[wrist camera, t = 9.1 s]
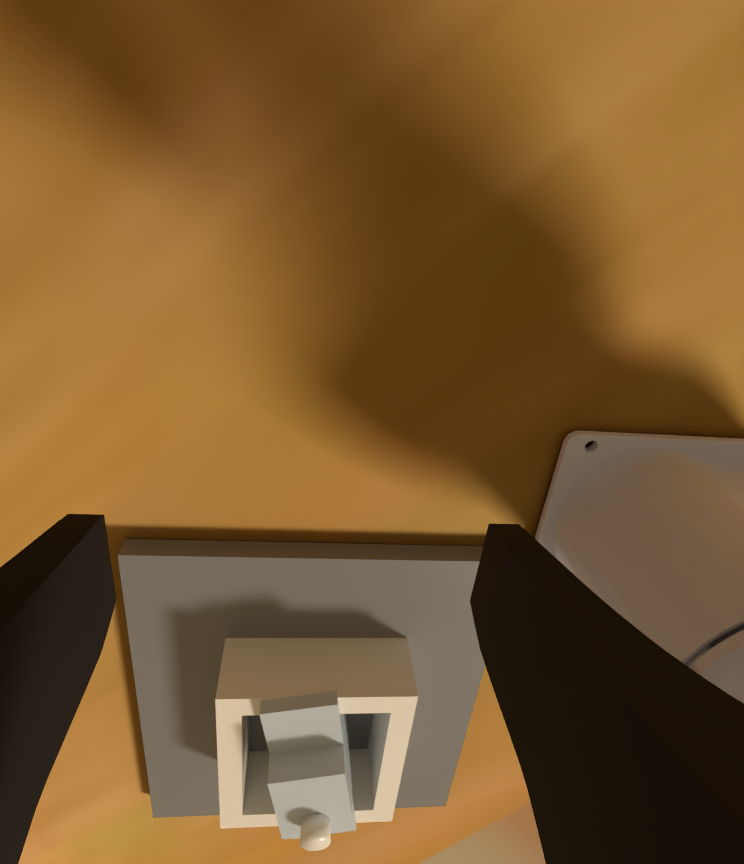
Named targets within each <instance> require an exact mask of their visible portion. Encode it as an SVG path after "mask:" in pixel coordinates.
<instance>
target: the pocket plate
mask: <svg viewBox="0 0 744 864" xmlns="http://www.w3.org/2000/svg"><path fill="white" fill-rule="evenodd" d="M482 550H483V546H449V545H402V544H355V543H307V542H260V541H213V540H165V539H125V540H124V542H123V544H122V546H121V548H120V551H119V553H118V563H119V570H120V577H121V585H122V592H123V599H124V607H125V614H126V621H127V629H128V636H129V643H130V651H131V658H132V665H133V673H134V680H135V687H136V695H137V702H138V709H139V717H140V724H141V731H142V739H143V746H144V753H145V761H146V768H147V775H148V783H149V790H150V797H151V805H152V812H153V818H155V817H180V816H205V815H220V828H243V827H267V826H279V825H278V822H277V818H276V814H275V810H274V807H273V803H272V799H271V796H270V792H269V788H268V785H267V782H268V768H269V750H268V746H267V742H266V739H265V735H264V731H263V727H262V723H261V719H260V715H259V713H260V701H261V700H269V699H277V698H285V697H293V696H301V695H309V694H316V693H324V692H332V691H337V694H338V701H339V708H340V714H346V718H347V725H348V732H349V746H350V763H351V779H352V796H353V802H354V809H355V816H356V823H360V822H384V821H392V818H393V813H394V809H395V808H406V807H431V806H445V805H446V801H447V798H448V794H449V791H450V787H451V784H452V780H453V777H454V773H455V770H456V766H457V763H458V759H459V755H460V752H461V748H462V745H463V741H464V738H465V734H466V731H467V727H468V724H469V720H470V717H471V713H472V710H473V706H474V703H475V699H476V695H477V692H478V688H479V685H480V681H481V678H482V674H483V671H484V667H485V663H484V660H483V657H482V654H481V651H480V647H479V642H478V638H477V634H476V629H475V624H474V619H473V614H472V609H471V604H470V598H471V594H472V590H473V586H474V582H475V578H476V574H477V570H478V566H479V562H480V558H481V554H482Z"/></svg>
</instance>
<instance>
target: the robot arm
mask: <svg viewBox="0 0 744 864" xmlns="http://www.w3.org/2000/svg"><path fill="white" fill-rule="evenodd" d="M589 441H593V443H592V445H591V446H589V447H586V448H585V445H586V444H587V443H588V442H589ZM115 602H116V594H115V587H114V581H113V574H112V567H111V560H110V553H109V546H108V539H107V533H106V526H105V519H104V515H89V514H68V515H66V516H65V517H64V518H62V519H61V520H60V521H58V522H57V523H56V524H54V525H53V526H52V527H51V528H49V529H48V530H47V531H46V532H44V533H43V534H42V535H41V536H39V537H38V538H37V539H36V540H34V541H33V542H32V543H31V544H29V545H28V546H27V547H26V548H24V549H23V550H22V551H21V552H19V553H18V554H17V555H16V556H14V557H13V558H12V559H11V560H9V561H8V562H7V563H5V564H4V565H3V566H2V567H0V864H18V862H19V859H20V856H21V853H22V850H23V847H24V844H25V841H26V838H27V835H28V831H29V828H30V825H31V822H32V819H33V816H34V813H35V810H36V807H37V804H38V802H39V799H40V797H41V794H42V791H43V789H44V786H45V784H46V781H47V778H48V776H49V774H50V771H51V769H52V767H53V764H54V762H55V760H56V757H57V755H58V753H59V750H60V748H61V746H62V743H63V741H64V739H65V736H66V734H67V732H68V729H69V727H70V725H71V722H72V720H73V718H74V716H75V713H76V711H77V709H78V706H79V704H80V702H81V699H82V697H83V695H84V692H85V690H86V687H87V685H88V683H89V680H90V678H91V676H92V673H93V671H94V669H95V666H96V664H97V661H98V659H99V656H100V654H101V651H102V648H103V645H104V641H105V638H106V635H107V631H108V628H109V624H110V621H111V617H112V613H113V610H114V606H115ZM470 604H471V609H472V614H473V619H474V624H475V629H476V634H477V638H478V642H479V647H480V651H481V654H482V657H483V660H484V663H485V665H486V668H487V671H488V674H489V677H490V680H491V683H492V686H493V689H494V692H495V694H496V697H497V700H498V703H499V706H500V709H501V711H502V714H503V717H504V720H505V723H506V726H507V728H508V731H509V734H510V737H511V740H512V743H513V745H514V748H515V751H516V754H517V757H518V760H519V763H520V766H521V769H522V772H523V776H524V779H525V782H526V785H527V789H528V793H529V797H530V801H531V805H532V808H533V813H534V817H535V820H536V825H537V828H538V833H539V837H540V841H541V845H542V849H543V853H544V858H545V862H546V864H744V439H740V438H720V437H700V436H679V435H659V434H639V433H619V432H599V431H573V432H571V433H569V434H568V435H567V436H566V437H565V439H564V441H563V444H562V448H561V451H560V455H559V458H558V461H557V465H556V468H555V471H554V475H553V478H552V481H551V485H550V488H549V492H548V495H547V498H546V502H545V505H544V508H543V512H542V515H541V518H540V522H539V525H538V529H537V532H536V535H535V538H534V537H533V536H531V535H530V534H529V533H528V532H527V531H526V530H525V529H523V528H522V527H521V526H520V525H519V524H489V526H488V530H487V534H486V538H485V542H484V546H483V550H482V554H481V558H480V562H479V566H478V570H477V574H476V578H475V582H474V586H473V590H472V594H471V598H470Z"/></svg>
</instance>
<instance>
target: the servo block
mask: <svg viewBox="0 0 744 864" xmlns="http://www.w3.org/2000/svg"><path fill="white" fill-rule="evenodd" d="M259 715H260V719H261V723H262V727H263V731H264V735H265V739H266V742H267V746H268V750H269V768H268V782H267V785H268V788H269V792H270V796H271V799H272V803H273V807H274V810H275V814H276V818H277V822H278V825H279V829H280V833H281V836H282V839H288V838H291V839H297V838H300V845H301V847H302V848H303V849H305V850H309V851H318V850H322V849H325V848H326V847H328V846H329V845H330V834H333V833H341V832H348V831H355V830H356V816H355V809H354V802H353V796H352V779H351V763H350V746H349V732H348V725H347V718H346V714H340V708H339V701H338V694H337V691H332V692H324V693H316V694H309V695H301V696H293V697H285V698H277V699H269V700H261V701H260V713H259Z"/></svg>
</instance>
